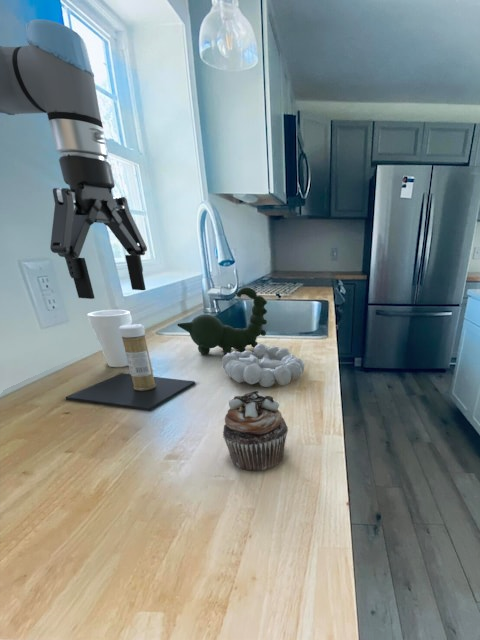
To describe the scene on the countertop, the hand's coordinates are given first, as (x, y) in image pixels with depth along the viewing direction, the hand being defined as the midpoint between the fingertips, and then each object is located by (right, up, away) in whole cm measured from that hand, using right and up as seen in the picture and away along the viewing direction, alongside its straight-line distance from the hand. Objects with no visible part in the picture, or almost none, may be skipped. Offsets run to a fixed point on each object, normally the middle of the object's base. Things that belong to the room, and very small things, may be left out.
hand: (115, 293), depth 71 cm
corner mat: (-1, -18, +9) cm, 20 cm away
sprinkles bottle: (+1, -17, +9) cm, 20 cm away
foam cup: (-13, -9, +27) cm, 31 cm away
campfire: (+26, -13, +20) cm, 35 cm away
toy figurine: (+12, -3, +38) cm, 40 cm away
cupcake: (+30, -31, -14) cm, 46 cm away
